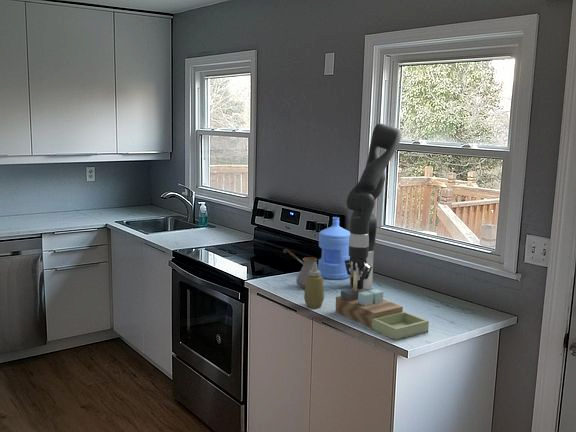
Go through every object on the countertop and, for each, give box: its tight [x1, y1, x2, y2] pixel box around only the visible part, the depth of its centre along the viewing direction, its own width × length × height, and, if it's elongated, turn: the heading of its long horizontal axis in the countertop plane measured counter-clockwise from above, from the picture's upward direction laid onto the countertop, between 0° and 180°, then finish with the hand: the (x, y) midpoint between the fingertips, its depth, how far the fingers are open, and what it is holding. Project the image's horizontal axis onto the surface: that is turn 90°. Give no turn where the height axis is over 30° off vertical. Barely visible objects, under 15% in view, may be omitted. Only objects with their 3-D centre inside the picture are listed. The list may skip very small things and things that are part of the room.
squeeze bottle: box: [303, 261, 325, 309], centre depth 237 cm, size 8×8×18 cm
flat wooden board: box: [334, 295, 404, 329], centre depth 227 cm, size 22×14×6 cm, turn 34°
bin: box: [371, 311, 430, 341], centre depth 213 cm, size 12×16×4 cm
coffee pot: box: [282, 248, 318, 290], centre depth 267 cm, size 21×12×15 cm, turn 46°
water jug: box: [317, 216, 350, 280], centre depth 283 cm, size 16×16×28 cm
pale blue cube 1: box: [358, 291, 374, 306], centre depth 224 cm, size 4×4×4 cm
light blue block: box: [368, 288, 384, 304], centre depth 227 cm, size 4×4×4 cm
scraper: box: [340, 270, 371, 301], centre depth 231 cm, size 6×11×10 cm, turn 124°
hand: (356, 287), depth 231 cm, fingers closed on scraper, 3 cm apart
